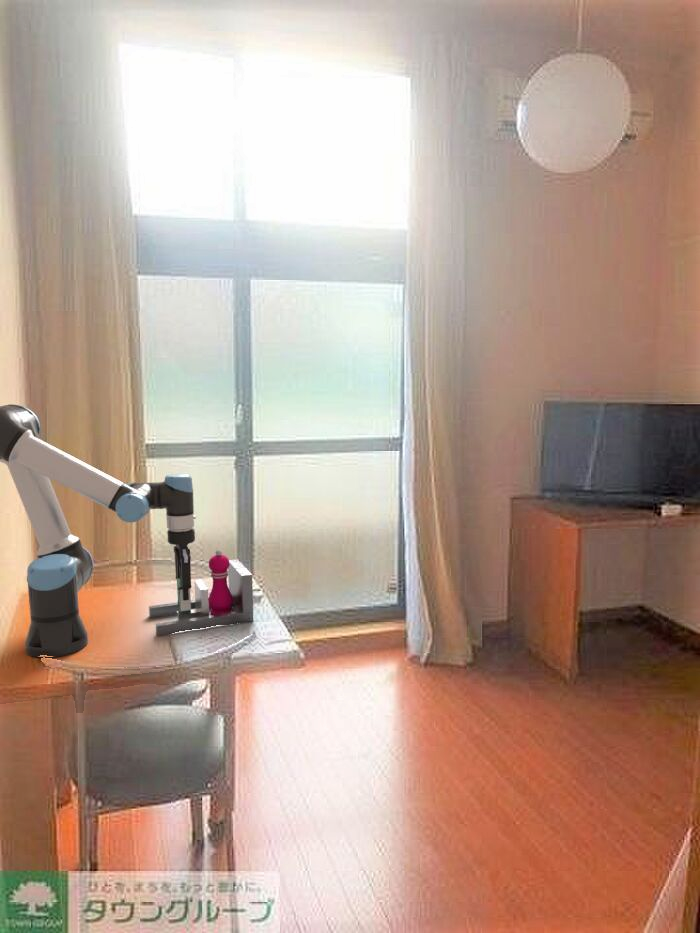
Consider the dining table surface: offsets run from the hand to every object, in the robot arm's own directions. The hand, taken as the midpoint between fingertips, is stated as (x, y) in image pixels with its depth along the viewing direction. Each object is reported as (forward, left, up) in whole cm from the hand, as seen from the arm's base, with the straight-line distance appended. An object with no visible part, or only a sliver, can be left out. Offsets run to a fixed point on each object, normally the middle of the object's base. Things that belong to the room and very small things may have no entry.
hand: (184, 607), depth 194 cm
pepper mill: (+11, 0, -4) cm, 11 cm away
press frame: (+4, 0, -4) cm, 6 cm away
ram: (+2, 0, -4) cm, 5 cm away
